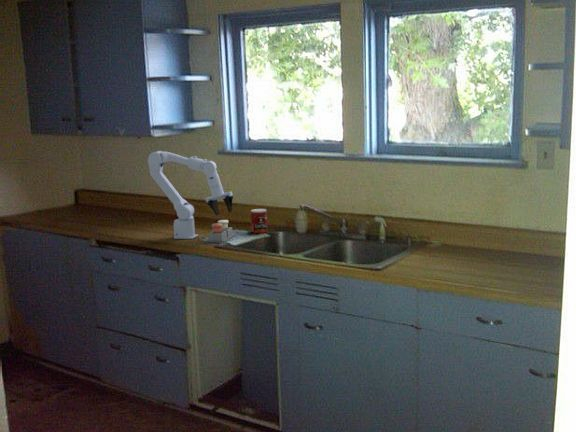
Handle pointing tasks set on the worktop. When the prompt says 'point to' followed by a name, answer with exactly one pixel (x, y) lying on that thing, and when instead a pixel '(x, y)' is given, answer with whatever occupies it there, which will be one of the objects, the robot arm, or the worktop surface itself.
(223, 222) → the cream plug
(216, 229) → the red plug
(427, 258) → the worktop surface
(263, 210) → the canned food
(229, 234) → the socket board
